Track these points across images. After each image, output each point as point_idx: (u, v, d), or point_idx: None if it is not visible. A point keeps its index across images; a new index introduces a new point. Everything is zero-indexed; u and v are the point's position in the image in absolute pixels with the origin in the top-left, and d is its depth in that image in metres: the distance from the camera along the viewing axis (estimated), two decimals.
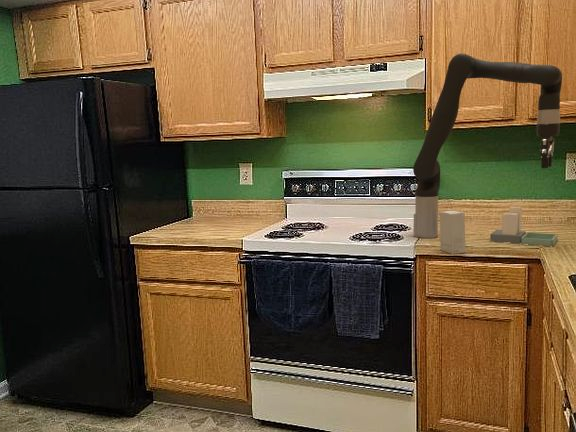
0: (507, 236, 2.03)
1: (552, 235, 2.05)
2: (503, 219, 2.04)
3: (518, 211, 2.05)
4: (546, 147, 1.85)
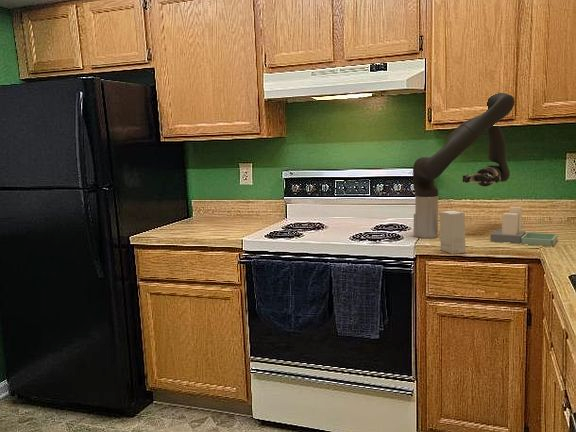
0: (507, 236, 2.03)
1: (552, 235, 2.05)
2: (503, 219, 2.04)
3: (518, 211, 2.05)
4: (499, 180, 2.10)
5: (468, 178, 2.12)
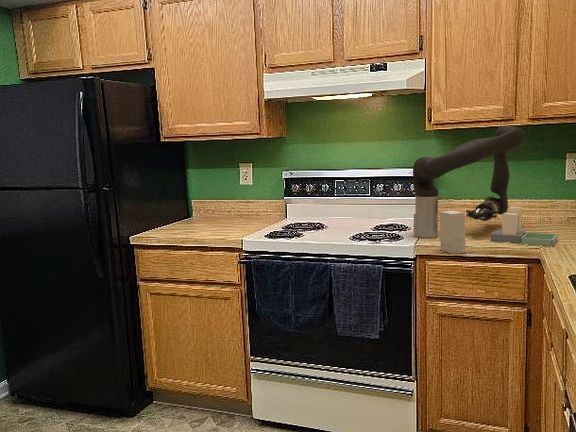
0: (507, 236, 2.03)
1: (552, 235, 2.05)
2: (503, 219, 2.04)
3: (518, 211, 2.05)
4: (491, 216, 2.12)
5: None
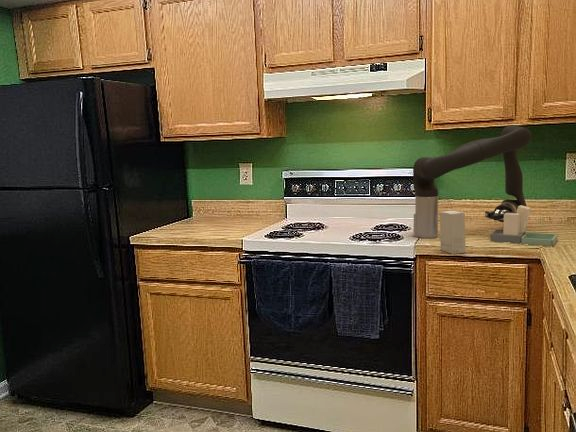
0: (507, 236, 2.03)
1: (552, 235, 2.05)
2: (504, 219, 2.04)
3: (526, 212, 2.03)
4: None
5: None
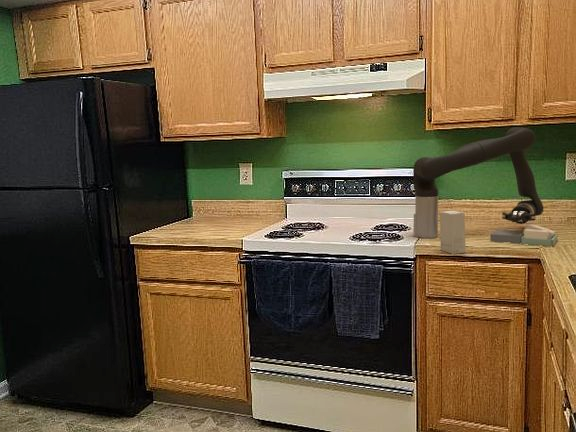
0: (507, 236, 2.03)
1: None
2: (541, 232, 1.96)
3: None
4: (530, 219, 2.04)
5: None
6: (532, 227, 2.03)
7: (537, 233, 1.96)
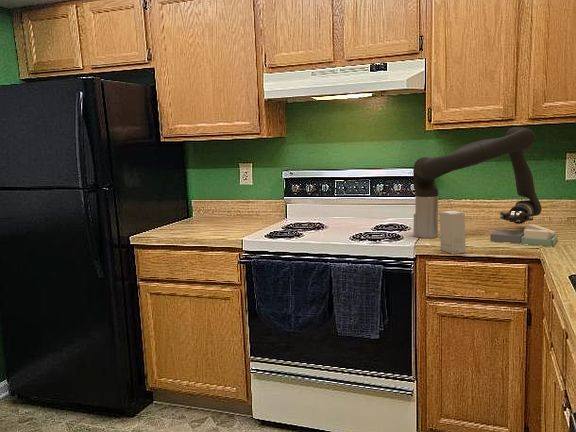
0: (507, 236, 2.03)
1: None
2: (541, 232, 1.96)
3: None
4: (527, 219, 2.04)
5: None
6: (532, 227, 2.02)
7: (537, 233, 1.96)
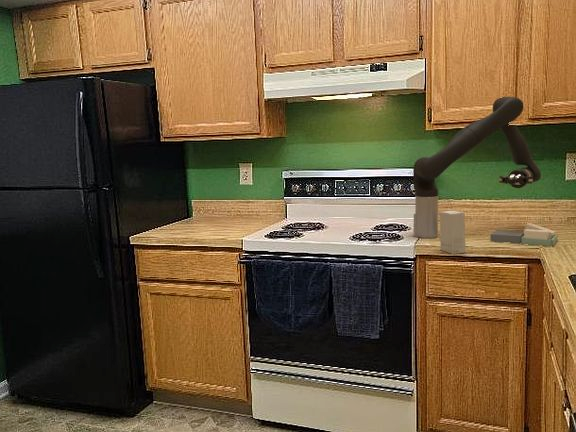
0: (507, 236, 2.03)
1: None
2: (541, 232, 1.96)
3: None
4: (527, 182, 2.03)
5: None
6: (532, 227, 2.02)
7: (537, 233, 1.96)
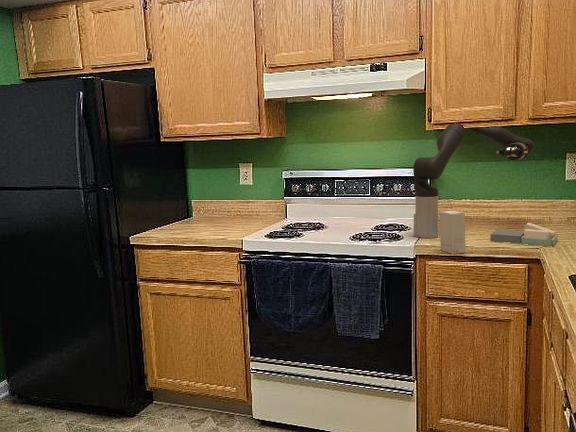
0: (507, 236, 2.03)
1: None
2: (541, 232, 1.96)
3: None
4: (522, 153, 2.18)
5: None
6: (532, 227, 2.02)
7: (537, 233, 1.96)
